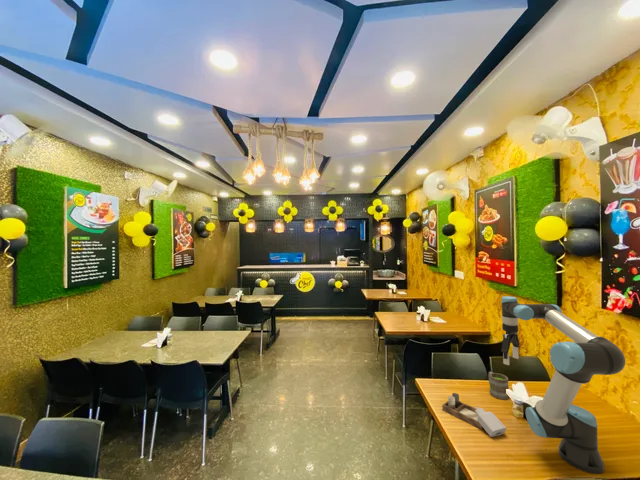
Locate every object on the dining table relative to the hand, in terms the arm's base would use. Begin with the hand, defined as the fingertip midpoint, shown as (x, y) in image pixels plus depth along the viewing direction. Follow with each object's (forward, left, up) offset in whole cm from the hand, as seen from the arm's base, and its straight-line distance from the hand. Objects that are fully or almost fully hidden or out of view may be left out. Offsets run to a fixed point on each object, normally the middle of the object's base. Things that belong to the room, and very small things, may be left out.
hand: (511, 361), depth 156 cm
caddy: (+17, +19, -32) cm, 41 cm away
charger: (+12, +19, -24) cm, 33 cm away
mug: (+16, -21, -32) cm, 41 cm away
